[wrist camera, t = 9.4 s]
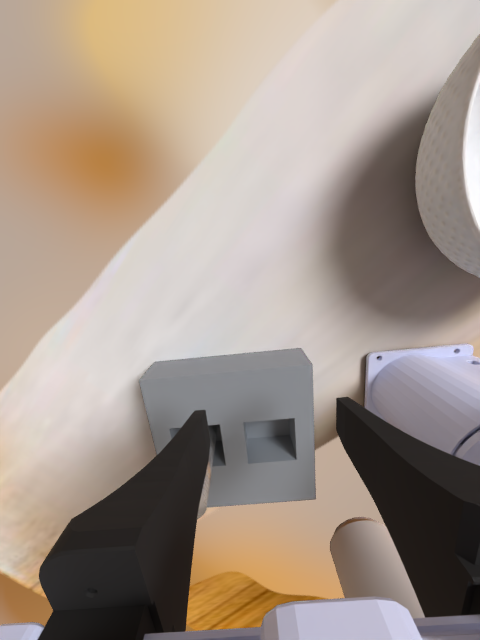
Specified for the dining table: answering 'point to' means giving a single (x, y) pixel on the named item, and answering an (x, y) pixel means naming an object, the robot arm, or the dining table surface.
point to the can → (371, 564)
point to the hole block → (242, 421)
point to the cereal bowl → (453, 166)
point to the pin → (208, 471)
